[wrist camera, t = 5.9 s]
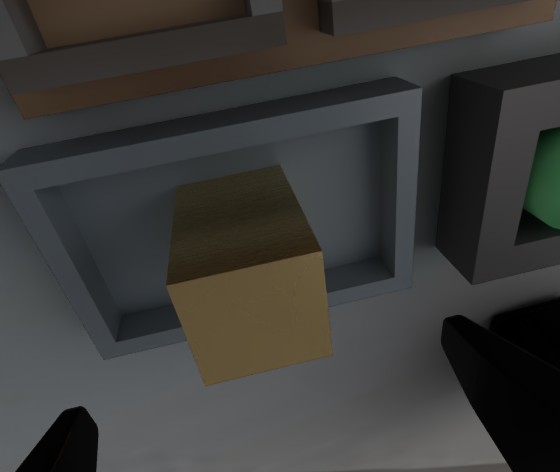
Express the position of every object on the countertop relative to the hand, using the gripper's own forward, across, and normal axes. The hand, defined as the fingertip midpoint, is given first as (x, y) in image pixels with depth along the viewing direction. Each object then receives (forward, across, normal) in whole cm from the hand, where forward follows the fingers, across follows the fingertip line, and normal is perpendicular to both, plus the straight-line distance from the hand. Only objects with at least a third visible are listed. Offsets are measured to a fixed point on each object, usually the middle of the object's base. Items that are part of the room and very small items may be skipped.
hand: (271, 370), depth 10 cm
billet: (+8, 0, 0) cm, 8 cm away
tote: (+8, 0, 0) cm, 8 cm away
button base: (+8, -13, 0) cm, 15 cm away
